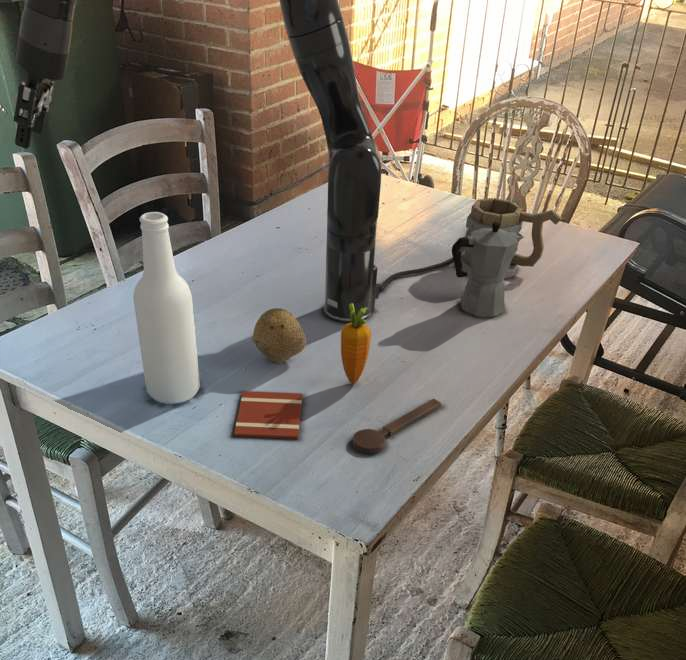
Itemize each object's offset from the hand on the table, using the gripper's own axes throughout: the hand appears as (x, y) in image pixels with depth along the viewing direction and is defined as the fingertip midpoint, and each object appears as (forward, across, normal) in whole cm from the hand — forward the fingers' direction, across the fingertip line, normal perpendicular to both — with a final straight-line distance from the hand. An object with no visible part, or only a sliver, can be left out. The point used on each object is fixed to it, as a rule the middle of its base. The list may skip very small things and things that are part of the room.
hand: (29, 138), depth 130 cm
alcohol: (+20, -30, -35) cm, 51 cm away
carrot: (+10, -28, -63) cm, 70 cm away
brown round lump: (+14, -20, -51) cm, 57 cm away
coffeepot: (0, +1, -89) cm, 89 cm away
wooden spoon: (+7, -40, -69) cm, 80 cm away
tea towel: (+15, -37, -50) cm, 64 cm away
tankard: (-3, +19, -97) cm, 99 cm away
